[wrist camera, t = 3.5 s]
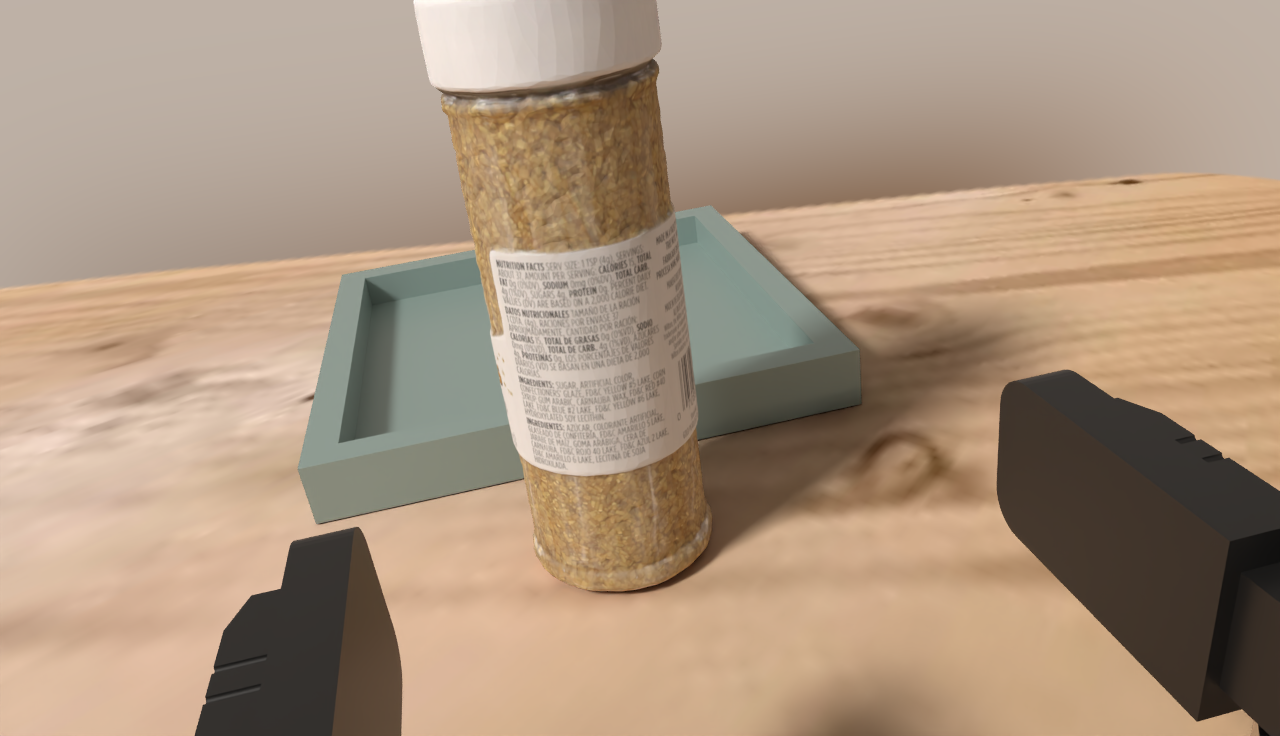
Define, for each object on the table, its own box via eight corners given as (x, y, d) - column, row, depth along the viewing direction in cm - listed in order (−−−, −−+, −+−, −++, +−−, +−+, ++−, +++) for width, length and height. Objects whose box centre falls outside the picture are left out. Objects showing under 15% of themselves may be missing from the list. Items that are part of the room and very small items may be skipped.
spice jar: (569, 487, 26) (470, -36, 20) (731, 494, 25) (675, -62, 19) (507, 596, 23) (361, -9, 17) (695, 611, 21) (610, -40, 15)
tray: (714, 244, 43) (710, 205, 42) (861, 403, 28) (859, 349, 28) (353, 314, 41) (342, 274, 40) (316, 524, 26) (297, 469, 26)
